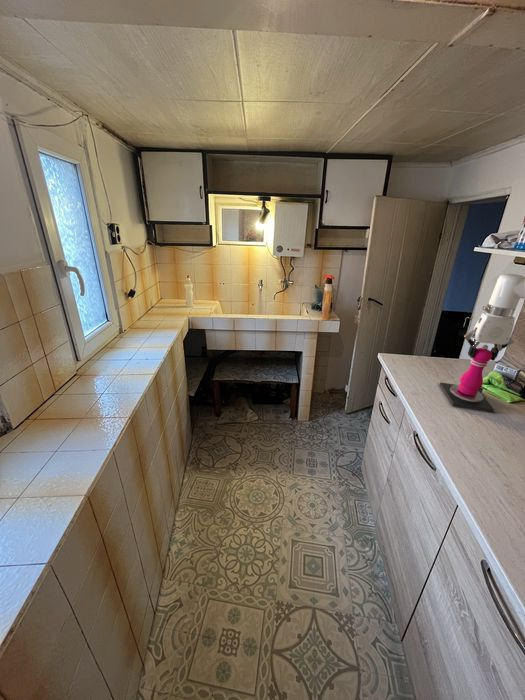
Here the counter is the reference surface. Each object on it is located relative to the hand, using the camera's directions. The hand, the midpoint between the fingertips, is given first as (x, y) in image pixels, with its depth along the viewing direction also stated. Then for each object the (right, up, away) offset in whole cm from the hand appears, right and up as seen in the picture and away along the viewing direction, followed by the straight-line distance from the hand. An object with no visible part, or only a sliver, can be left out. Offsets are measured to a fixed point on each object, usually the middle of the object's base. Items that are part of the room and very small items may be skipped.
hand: (481, 357), depth 104 cm
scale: (+1, -17, +10) cm, 19 cm away
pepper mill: (-1, -14, +6) cm, 15 cm away
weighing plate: (-1, -15, +7) cm, 16 cm away
